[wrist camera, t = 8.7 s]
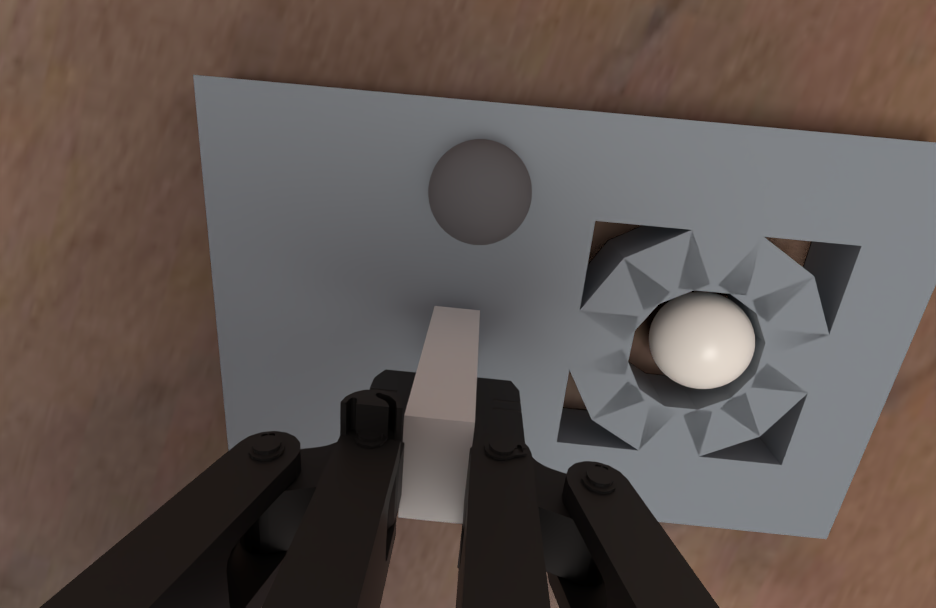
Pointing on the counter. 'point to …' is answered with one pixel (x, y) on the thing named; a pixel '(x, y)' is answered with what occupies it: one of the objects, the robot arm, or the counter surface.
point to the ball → (701, 340)
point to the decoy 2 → (480, 192)
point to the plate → (573, 282)
